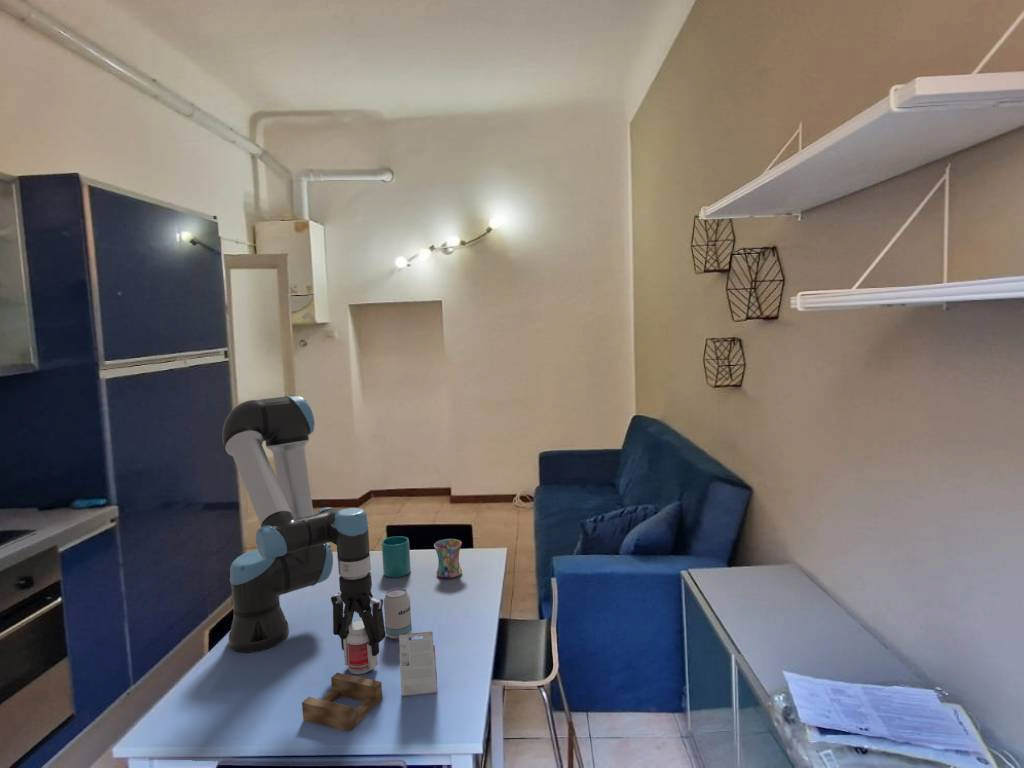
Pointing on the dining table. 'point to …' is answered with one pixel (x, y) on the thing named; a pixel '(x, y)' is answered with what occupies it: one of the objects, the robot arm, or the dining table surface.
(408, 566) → the cup
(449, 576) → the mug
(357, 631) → the pill bottle
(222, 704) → the dining table surface
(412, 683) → the ink box
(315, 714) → the walnut holder
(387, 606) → the beverage can
